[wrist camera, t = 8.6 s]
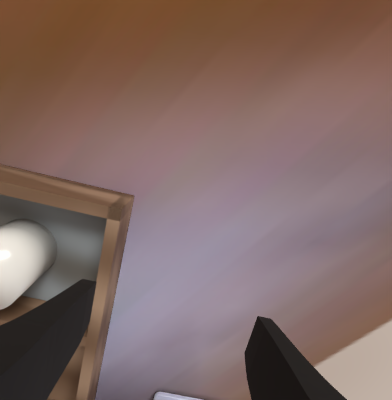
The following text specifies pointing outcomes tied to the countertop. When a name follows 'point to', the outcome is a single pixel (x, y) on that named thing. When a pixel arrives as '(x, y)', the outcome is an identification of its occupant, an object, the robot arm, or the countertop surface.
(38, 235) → the white rounded egg-shaped piece
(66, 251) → the bin
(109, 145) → the countertop surface
